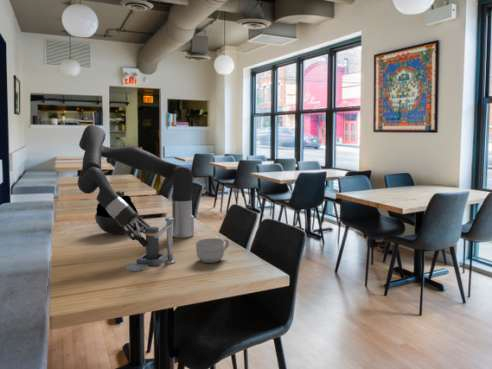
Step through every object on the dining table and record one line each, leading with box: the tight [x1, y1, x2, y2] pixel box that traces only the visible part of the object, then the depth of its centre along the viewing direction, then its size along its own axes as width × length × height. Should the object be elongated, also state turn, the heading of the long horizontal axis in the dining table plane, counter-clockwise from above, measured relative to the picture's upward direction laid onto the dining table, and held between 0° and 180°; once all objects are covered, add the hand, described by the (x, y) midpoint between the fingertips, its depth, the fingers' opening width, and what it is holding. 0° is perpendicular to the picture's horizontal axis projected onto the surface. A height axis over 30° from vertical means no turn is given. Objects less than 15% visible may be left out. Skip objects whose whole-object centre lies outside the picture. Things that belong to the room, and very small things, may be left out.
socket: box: [136, 252, 168, 267], centre depth 164 cm, size 9×9×2 cm
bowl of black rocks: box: [94, 194, 140, 236], centre depth 207 cm, size 20×20×19 cm
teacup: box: [195, 237, 230, 264], centre depth 166 cm, size 14×11×8 cm
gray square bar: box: [154, 217, 174, 239], centre depth 153 cm, size 20×3×3 cm, turn 176°
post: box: [164, 221, 176, 265], centre depth 163 cm, size 4×4×16 cm
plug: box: [145, 226, 160, 259], centre depth 164 cm, size 5×5×13 cm
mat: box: [125, 262, 149, 272], centre depth 157 cm, size 8×8×1 cm
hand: (150, 242), depth 164 cm, fingers open, 8 cm apart
